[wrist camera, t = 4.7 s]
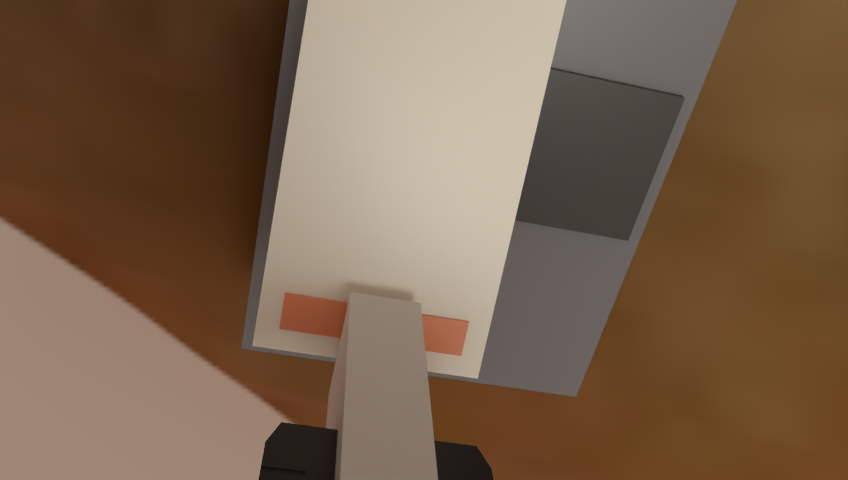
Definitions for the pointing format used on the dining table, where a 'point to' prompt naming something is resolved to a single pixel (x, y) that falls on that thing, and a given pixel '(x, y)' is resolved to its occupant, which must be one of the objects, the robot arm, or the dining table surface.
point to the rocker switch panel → (565, 179)
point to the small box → (405, 167)
